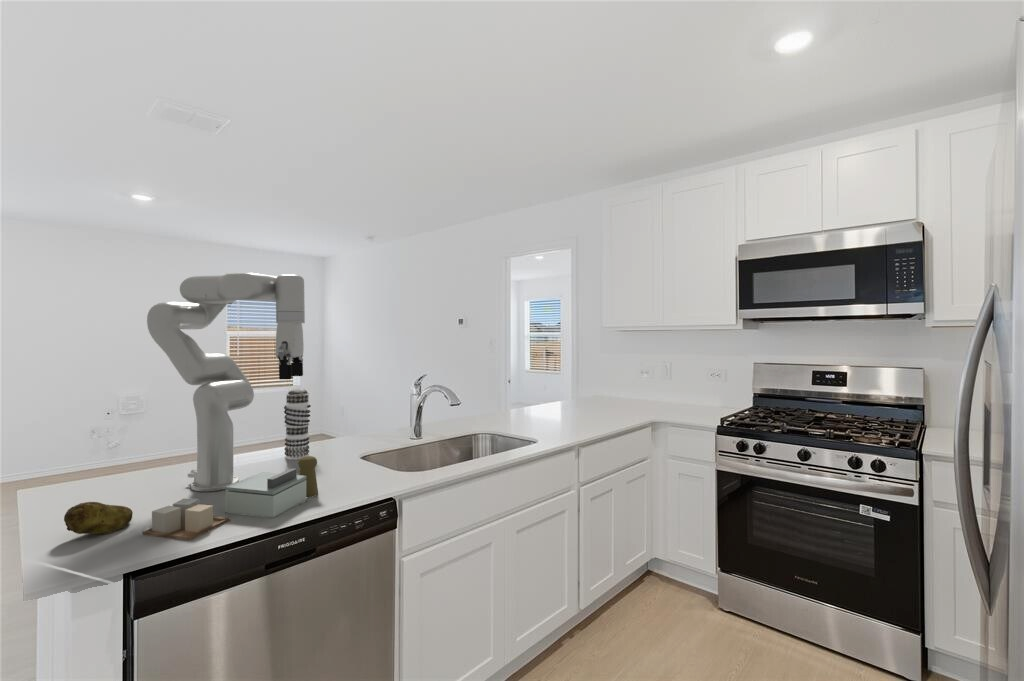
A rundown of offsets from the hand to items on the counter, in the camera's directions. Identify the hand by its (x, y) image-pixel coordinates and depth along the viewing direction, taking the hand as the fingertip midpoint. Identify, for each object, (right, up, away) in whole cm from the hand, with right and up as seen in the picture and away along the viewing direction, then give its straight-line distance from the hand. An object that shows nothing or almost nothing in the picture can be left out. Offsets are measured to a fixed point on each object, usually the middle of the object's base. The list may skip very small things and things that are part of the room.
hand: (291, 377), depth 144 cm
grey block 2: (-17, -34, -20) cm, 43 cm away
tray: (-15, -35, -24) cm, 44 cm away
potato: (-33, -35, -27) cm, 55 cm away
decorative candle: (-17, -33, +43) cm, 57 cm away
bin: (-3, -35, -9) cm, 36 cm away
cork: (+4, -35, +2) cm, 35 cm away
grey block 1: (-18, -34, -26) cm, 47 cm away
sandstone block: (-11, -34, -24) cm, 44 cm away
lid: (-2, -28, -9) cm, 30 cm away
